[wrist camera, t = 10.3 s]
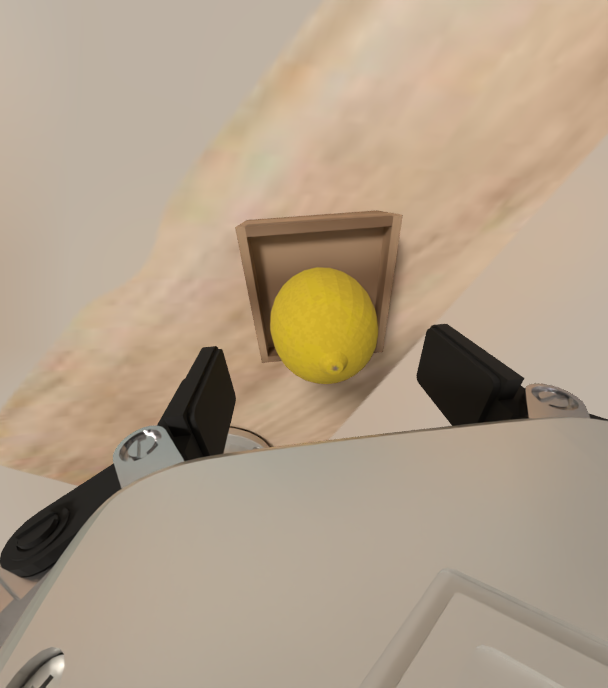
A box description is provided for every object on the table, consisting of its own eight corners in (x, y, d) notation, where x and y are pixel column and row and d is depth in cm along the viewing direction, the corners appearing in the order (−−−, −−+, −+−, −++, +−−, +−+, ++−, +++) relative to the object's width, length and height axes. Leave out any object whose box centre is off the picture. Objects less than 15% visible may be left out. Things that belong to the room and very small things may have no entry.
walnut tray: (366, 325, 21) (382, 351, 17) (265, 334, 21) (262, 362, 17) (377, 210, 16) (402, 214, 13) (246, 220, 16) (235, 227, 12)
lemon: (370, 290, 16) (432, 360, 9) (316, 343, 18) (333, 431, 11) (311, 232, 14) (336, 269, 7) (256, 300, 16) (235, 378, 9)
